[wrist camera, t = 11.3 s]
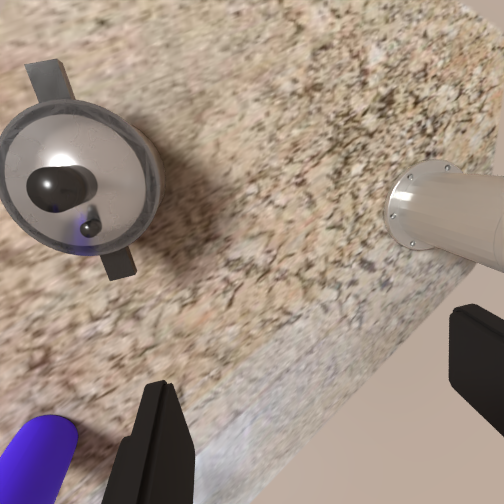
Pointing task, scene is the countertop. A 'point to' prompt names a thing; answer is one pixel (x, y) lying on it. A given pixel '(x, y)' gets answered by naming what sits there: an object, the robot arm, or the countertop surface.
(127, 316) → the countertop surface
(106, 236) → the lid
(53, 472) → the bottle
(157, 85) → the countertop surface
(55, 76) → the pot
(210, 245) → the countertop surface
